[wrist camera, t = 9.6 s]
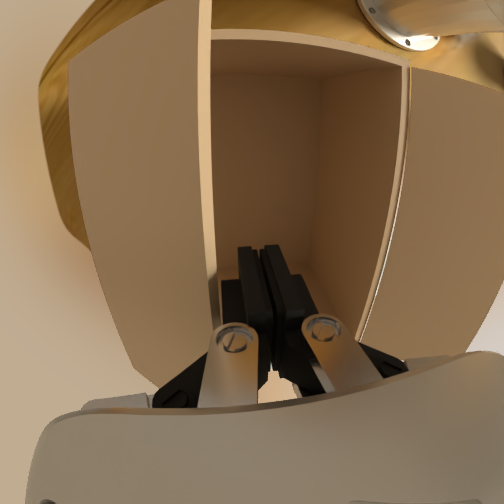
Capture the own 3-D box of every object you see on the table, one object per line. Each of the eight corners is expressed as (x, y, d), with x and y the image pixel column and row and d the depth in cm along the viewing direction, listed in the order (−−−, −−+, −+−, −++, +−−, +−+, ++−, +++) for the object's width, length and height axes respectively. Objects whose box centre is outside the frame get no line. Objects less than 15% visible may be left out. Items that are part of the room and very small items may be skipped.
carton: (142, 76, 21) (79, 52, 9) (324, 75, 23) (409, 59, 11) (161, 272, 32) (140, 366, 20) (310, 264, 34) (356, 347, 22)
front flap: (77, 60, 9) (68, 61, 9) (212, -10, 5) (200, -15, 5) (138, 364, 19) (134, 368, 19) (232, 427, 15) (228, 433, 15)
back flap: (540, 110, 7) (537, 111, 7) (411, 67, 11) (411, 69, 11) (449, 374, 17) (450, 369, 17) (359, 345, 21) (361, 341, 22)
